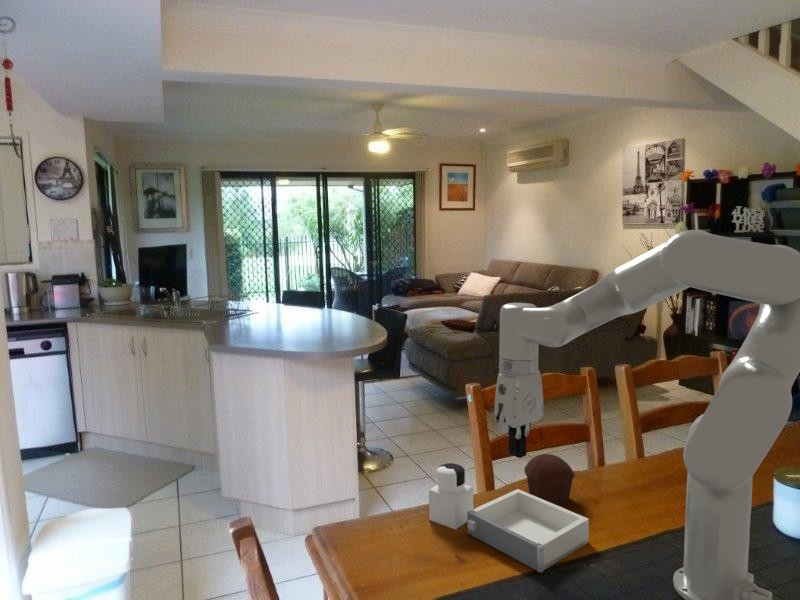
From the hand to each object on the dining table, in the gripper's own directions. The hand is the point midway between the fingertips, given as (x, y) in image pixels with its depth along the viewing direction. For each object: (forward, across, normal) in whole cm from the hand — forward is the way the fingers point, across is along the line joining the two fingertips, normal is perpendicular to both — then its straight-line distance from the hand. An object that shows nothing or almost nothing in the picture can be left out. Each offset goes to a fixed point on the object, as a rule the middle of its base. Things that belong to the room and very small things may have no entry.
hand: (517, 454), depth 114 cm
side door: (+17, -6, -2) cm, 19 cm away
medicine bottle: (+18, -4, +14) cm, 24 cm away
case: (+18, +2, -2) cm, 18 cm away
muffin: (+18, +20, +6) cm, 27 cm away
